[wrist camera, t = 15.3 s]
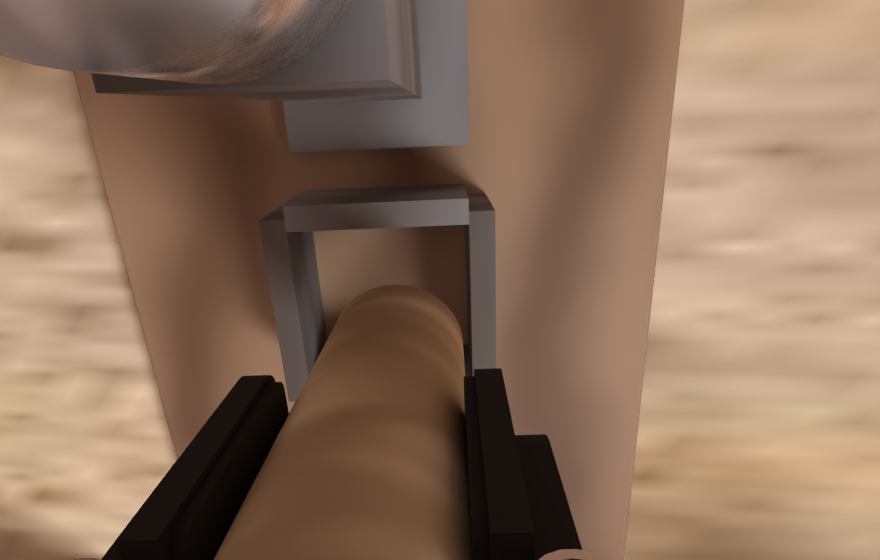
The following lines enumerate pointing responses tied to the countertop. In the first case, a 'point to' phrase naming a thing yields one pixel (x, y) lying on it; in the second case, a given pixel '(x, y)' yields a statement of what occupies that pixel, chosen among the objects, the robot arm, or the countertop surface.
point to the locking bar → (167, 36)
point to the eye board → (414, 211)
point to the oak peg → (369, 444)
